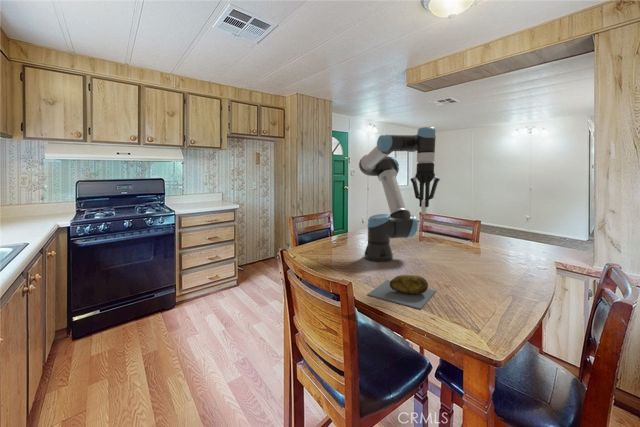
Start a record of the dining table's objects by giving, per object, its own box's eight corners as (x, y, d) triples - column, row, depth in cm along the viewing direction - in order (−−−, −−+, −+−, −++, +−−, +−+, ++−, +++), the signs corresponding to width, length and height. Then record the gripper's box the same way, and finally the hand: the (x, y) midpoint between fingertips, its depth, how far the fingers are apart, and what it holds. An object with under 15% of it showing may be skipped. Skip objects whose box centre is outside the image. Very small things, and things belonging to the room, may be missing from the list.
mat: (367, 295, 107) (367, 294, 107) (387, 280, 122) (387, 279, 122) (420, 309, 95) (420, 308, 95) (436, 291, 110) (436, 290, 110)
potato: (392, 268, 113) (399, 265, 106) (423, 281, 113) (432, 278, 105) (386, 288, 111) (392, 286, 103) (418, 301, 110) (426, 300, 102)
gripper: (442, 162, 129) (440, 214, 132) (414, 163, 136) (412, 212, 140) (438, 161, 123) (436, 216, 126) (408, 163, 131) (407, 214, 134)
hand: (423, 214), depth 133 cm, fingers closed
